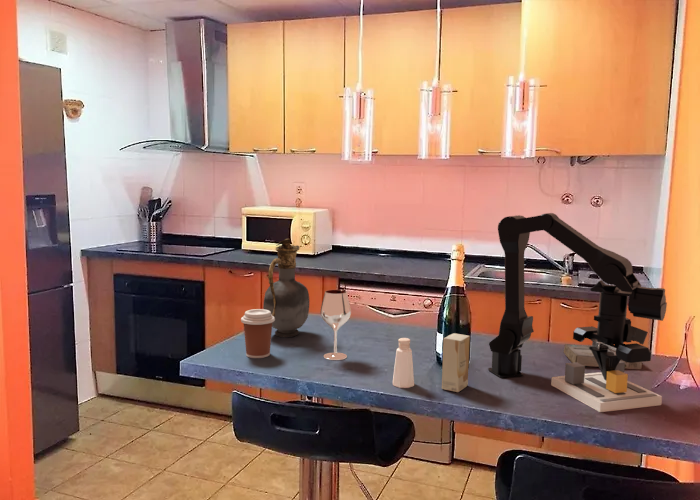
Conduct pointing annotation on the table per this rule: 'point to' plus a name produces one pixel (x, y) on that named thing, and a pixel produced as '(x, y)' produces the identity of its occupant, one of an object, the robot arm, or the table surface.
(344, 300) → the wineglass
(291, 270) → the pitcher
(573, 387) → the panel
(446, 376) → the skincare box
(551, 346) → the table surface
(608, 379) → the block
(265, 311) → the coffee cup
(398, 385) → the pepper shaker
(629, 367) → the box
